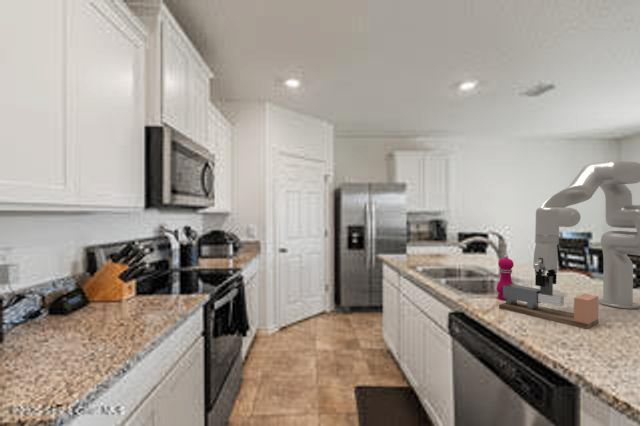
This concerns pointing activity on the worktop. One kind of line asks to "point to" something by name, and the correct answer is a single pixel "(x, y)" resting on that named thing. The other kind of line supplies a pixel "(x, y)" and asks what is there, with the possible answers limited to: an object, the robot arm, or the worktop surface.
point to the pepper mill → (504, 275)
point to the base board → (547, 314)
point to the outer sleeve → (521, 295)
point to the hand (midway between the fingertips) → (545, 284)
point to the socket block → (585, 308)
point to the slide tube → (549, 293)
